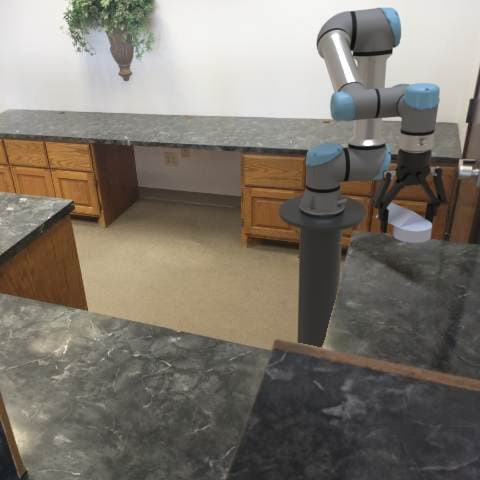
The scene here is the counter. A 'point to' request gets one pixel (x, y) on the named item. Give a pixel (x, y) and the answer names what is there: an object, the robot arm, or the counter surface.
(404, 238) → the wedge on round base
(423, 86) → the robot arm
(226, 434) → the counter surface
